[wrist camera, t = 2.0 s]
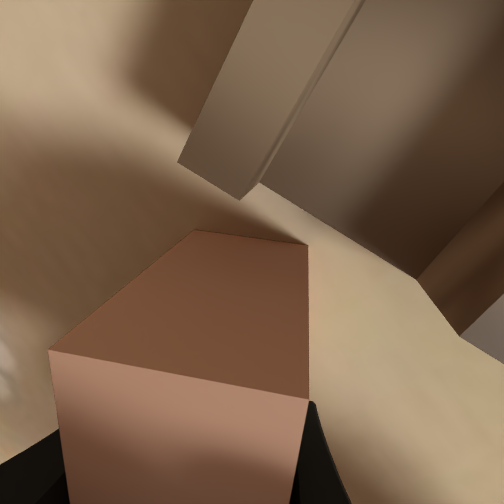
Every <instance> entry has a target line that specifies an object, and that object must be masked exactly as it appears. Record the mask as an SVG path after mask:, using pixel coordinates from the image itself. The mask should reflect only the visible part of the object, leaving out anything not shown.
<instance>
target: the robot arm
mask: <svg viewBox="0 0 504 504" xmlns="http://www.w3.org/2000/svg"><path fill="white" fill-rule="evenodd" d="M0 504H70V500H69V493H68V486H67V479H66V472H65V465H64V458H63V452H62V445H61V438H60V431H59V429H57V430H56V431H54V432H53V433H52V434H50V435H49V436H47V437H45V438H44V439H42V440H41V441H39V442H38V443H36V444H34V445H33V446H31V447H30V448H28V449H26V450H25V451H23V452H21V453H19V454H18V455H16V456H14V457H13V458H11V459H9V460H7V461H6V462H4V463H2V464H0ZM289 504H352V503H351V501H350V499H349V497H348V495H347V492H346V490H345V488H344V486H343V483H342V481H341V479H340V476H339V474H338V471H337V469H336V466H335V463H334V461H333V458H332V456H331V453H330V451H329V448H328V445H327V442H326V439H325V436H324V433H323V430H322V427H321V424H320V420H319V416H318V412H317V408H316V405H315V403H314V402H313V401H309V403H308V408H307V413H306V418H305V423H304V429H303V434H302V439H301V444H300V449H299V454H298V460H297V465H296V470H295V475H294V480H293V486H292V491H291V496H290V501H289Z"/></svg>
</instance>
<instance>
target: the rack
mask: <svg viewBox="0 0 504 504" xmlns="http://www.w3.org/2000/svg"><path fill="white" fill-rule="evenodd" d="M177 162H178V163H179V164H181V165H183V166H184V167H186V168H187V169H189V170H191V171H192V172H194V173H196V174H197V175H199V176H200V177H202V178H204V179H205V180H207V181H208V182H210V183H212V184H213V185H215V186H217V187H218V188H220V189H221V190H223V191H225V192H226V193H228V194H230V195H231V196H233V197H234V198H236V199H238V200H239V201H240V200H241V199H242V198H243V197H244V196H245V195H246V194H247V193H248V192H249V191H250V190H251V189H252V188H253V187H255V186H256V185H257V184H258V183H259V182H260V183H262V184H263V185H265V186H266V187H268V188H270V189H271V190H273V191H274V192H276V193H278V194H279V195H281V196H282V197H284V198H286V199H287V200H289V201H291V202H292V203H294V204H295V205H297V206H299V207H300V208H302V209H303V210H305V211H307V212H308V213H310V214H311V215H313V216H315V217H316V218H318V219H319V220H321V221H323V222H324V223H326V224H328V225H329V226H331V227H332V228H334V229H336V230H337V231H339V232H340V233H342V234H344V235H345V236H347V237H348V238H350V239H352V240H353V241H355V242H356V243H358V244H360V245H361V246H363V247H364V248H366V249H368V250H369V251H371V252H373V253H374V254H376V255H377V256H379V257H381V258H382V259H384V260H385V261H387V262H389V263H390V264H392V265H393V266H395V267H397V268H398V269H400V270H401V271H403V272H405V273H406V274H408V275H410V276H411V277H413V278H414V279H416V280H417V281H418V283H419V284H420V285H421V287H422V288H423V289H424V291H425V292H426V293H427V295H428V296H429V297H430V299H431V300H432V301H433V302H434V304H435V305H436V306H437V308H438V309H439V310H440V312H441V313H442V314H443V316H444V317H445V318H446V320H447V321H448V322H449V324H450V325H451V326H452V328H453V329H454V330H455V331H456V333H457V334H458V335H459V337H461V338H463V339H464V340H466V341H467V342H469V343H471V344H472V345H474V346H476V347H477V348H479V349H480V350H482V351H484V352H485V353H487V354H489V355H490V356H492V357H493V358H495V359H497V360H498V361H500V362H501V363H503V364H504V0H253V2H252V4H251V6H250V8H249V10H248V12H247V15H246V17H245V19H244V21H243V23H242V25H241V27H240V29H239V32H238V34H237V36H236V38H235V40H234V42H233V44H232V46H231V49H230V51H229V53H228V55H227V57H226V59H225V61H224V63H223V66H222V68H221V70H220V72H219V74H218V76H217V78H216V80H215V83H214V85H213V87H212V89H211V91H210V93H209V95H208V97H207V100H206V102H205V104H204V106H203V108H202V110H201V112H200V114H199V117H198V119H197V121H196V123H195V125H194V127H193V129H192V132H191V134H190V136H189V138H188V140H187V142H186V144H185V146H184V149H183V151H182V153H181V155H180V157H179V159H178V161H177Z"/></svg>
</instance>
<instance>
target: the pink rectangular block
mask: <svg viewBox="0 0 504 504" xmlns="http://www.w3.org/2000/svg"><path fill="white" fill-rule="evenodd" d="M48 355H49V362H50V369H51V376H52V383H53V390H54V396H55V403H56V410H57V417H58V424H59V431H60V438H61V445H62V452H63V458H64V465H65V472H66V479H67V486H68V493H69V500H70V504H289V501H290V496H291V491H292V486H293V480H294V475H295V470H296V465H297V460H298V454H299V449H300V444H301V439H302V434H303V429H304V423H305V418H306V413H307V408H308V403H309V296H308V245H302V244H294V243H287V242H280V241H272V240H265V239H258V238H250V237H243V236H236V235H228V234H221V233H214V232H206V231H199V230H193V231H192V232H191V233H189V234H188V235H187V236H186V237H185V238H183V239H182V240H181V241H180V242H178V243H177V244H176V245H175V246H174V247H172V248H171V249H170V250H169V251H167V252H166V253H165V254H164V255H163V256H161V257H160V258H159V259H158V260H157V261H155V262H154V263H153V264H152V265H150V266H149V267H148V268H147V269H146V270H144V271H143V272H142V273H141V274H139V275H138V276H137V277H136V278H135V279H133V280H132V281H131V282H130V283H128V284H127V285H126V286H125V287H124V288H122V289H121V290H120V291H119V292H117V293H116V294H115V295H114V296H113V297H111V298H110V299H109V300H108V301H106V302H105V303H104V304H103V305H102V306H100V307H99V308H98V309H97V310H96V311H94V312H93V313H92V314H91V315H89V316H88V317H87V318H86V319H85V320H83V321H82V322H81V323H80V324H78V325H77V326H76V327H75V328H74V329H72V330H71V331H70V332H69V333H67V334H66V335H65V336H64V337H63V338H61V339H60V340H59V341H58V342H56V343H55V344H54V345H53V346H52V347H50V348H49V349H48Z"/></svg>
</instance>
